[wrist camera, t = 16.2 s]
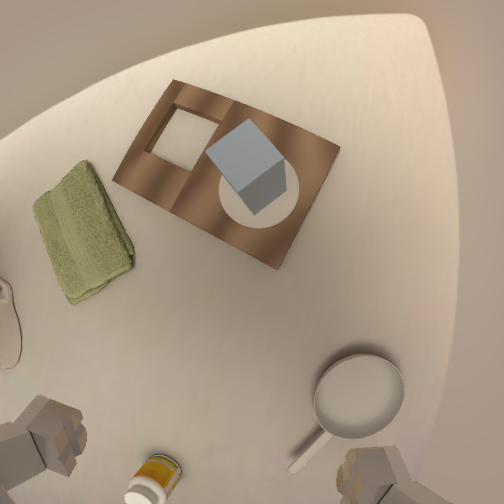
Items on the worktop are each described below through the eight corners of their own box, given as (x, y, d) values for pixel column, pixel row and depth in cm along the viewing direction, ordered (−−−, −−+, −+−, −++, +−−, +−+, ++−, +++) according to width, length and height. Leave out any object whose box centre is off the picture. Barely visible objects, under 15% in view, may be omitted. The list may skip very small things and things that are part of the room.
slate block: (254, 215, 35) (237, 192, 24) (230, 184, 36) (204, 151, 25) (286, 190, 35) (284, 157, 24) (261, 160, 35) (249, 118, 24)
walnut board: (117, 183, 40) (111, 180, 38) (176, 85, 40) (173, 79, 38) (277, 269, 37) (277, 269, 35) (338, 151, 37) (340, 146, 35)
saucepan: (412, 377, 34) (423, 387, 30) (320, 474, 35) (322, 490, 31) (350, 331, 36) (357, 338, 32) (257, 437, 36) (254, 452, 32)
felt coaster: (206, 206, 37) (204, 205, 36) (243, 140, 36) (242, 138, 36) (275, 243, 35) (275, 242, 35) (312, 172, 35) (313, 171, 35)
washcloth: (77, 309, 40) (64, 311, 37) (39, 207, 42) (26, 204, 39) (144, 263, 39) (133, 263, 36) (96, 157, 41) (84, 150, 38)
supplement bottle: (187, 481, 37) (165, 520, 27) (155, 480, 37) (129, 516, 28) (175, 452, 37) (149, 490, 28) (142, 453, 38) (112, 486, 28)
